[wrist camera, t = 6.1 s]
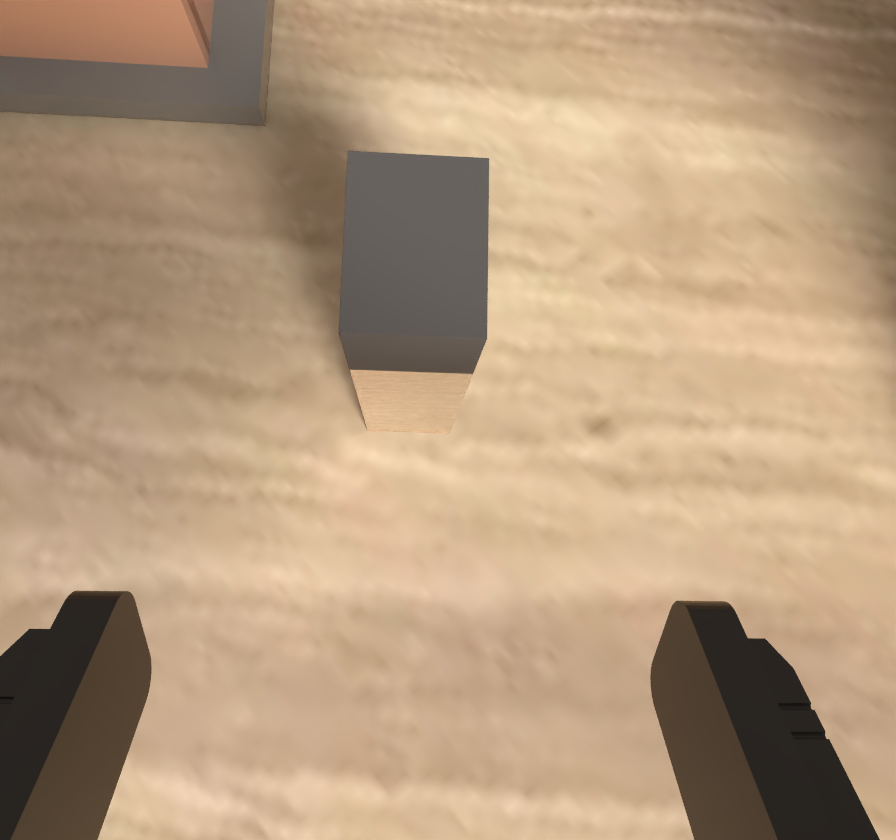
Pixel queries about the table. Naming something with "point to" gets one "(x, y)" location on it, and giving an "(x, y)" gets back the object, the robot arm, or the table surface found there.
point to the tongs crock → (137, 58)
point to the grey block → (414, 285)
